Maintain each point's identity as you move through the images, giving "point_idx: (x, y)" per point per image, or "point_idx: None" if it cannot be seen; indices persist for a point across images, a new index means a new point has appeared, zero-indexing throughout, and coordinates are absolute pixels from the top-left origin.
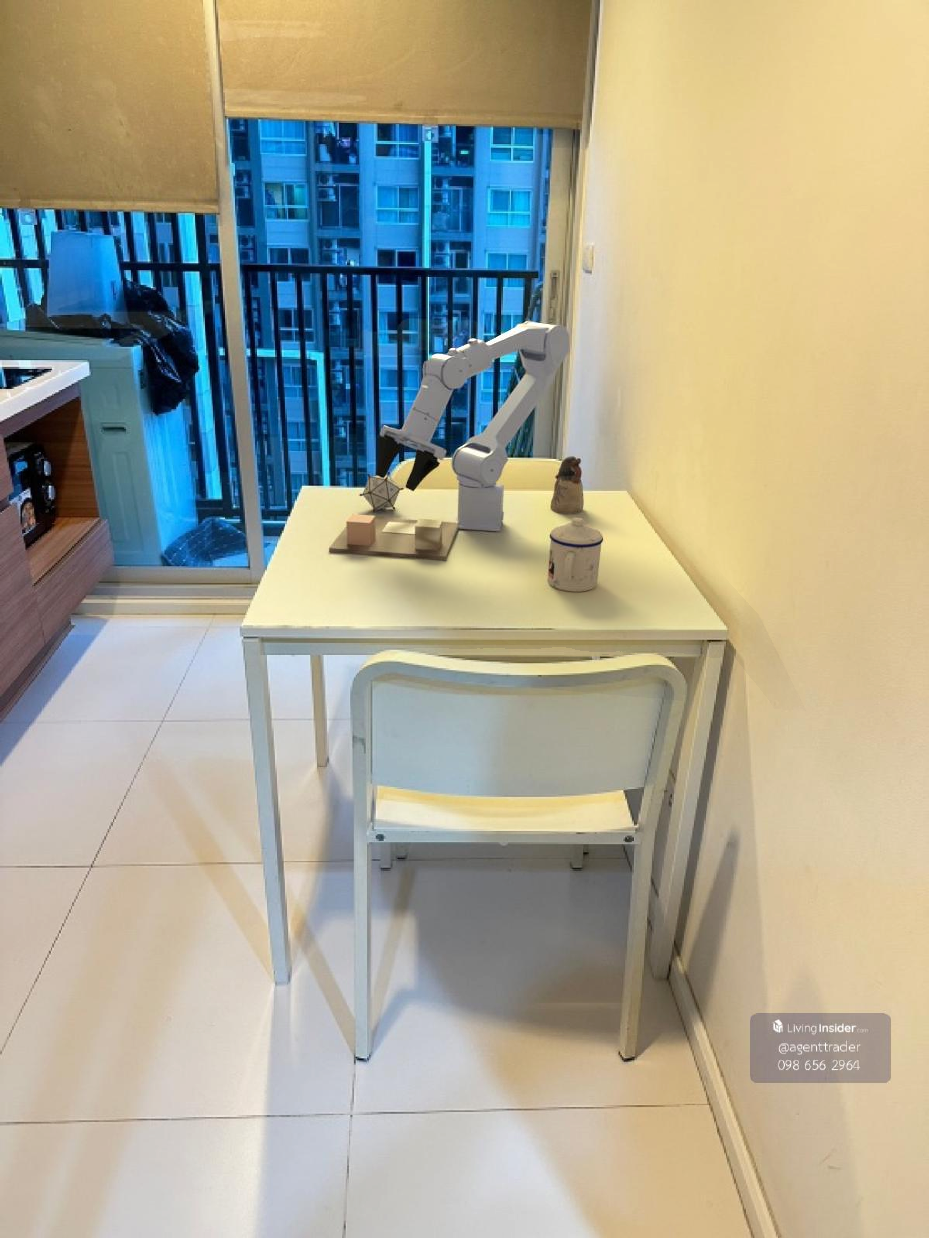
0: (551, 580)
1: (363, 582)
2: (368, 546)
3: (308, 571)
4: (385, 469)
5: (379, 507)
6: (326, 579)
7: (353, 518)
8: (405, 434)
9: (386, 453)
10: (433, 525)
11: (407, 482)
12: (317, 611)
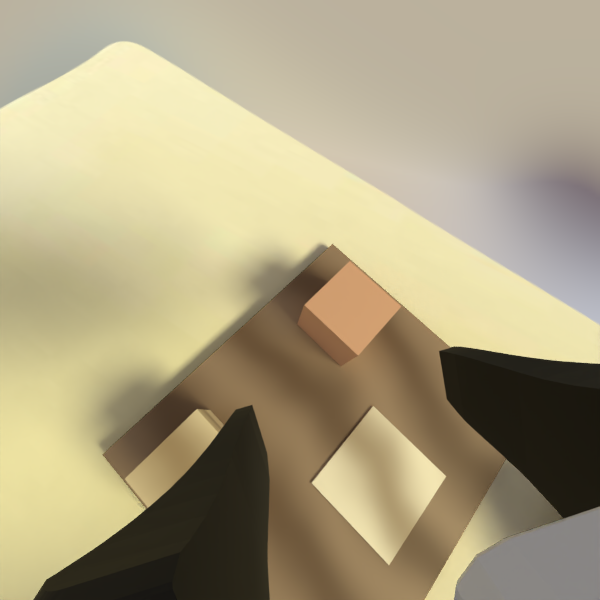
0: None
1: (140, 215)
2: (295, 318)
3: (257, 172)
4: (475, 409)
5: None
6: (201, 175)
7: (364, 288)
8: (485, 564)
9: (554, 412)
10: (158, 475)
11: (244, 414)
12: (91, 103)
